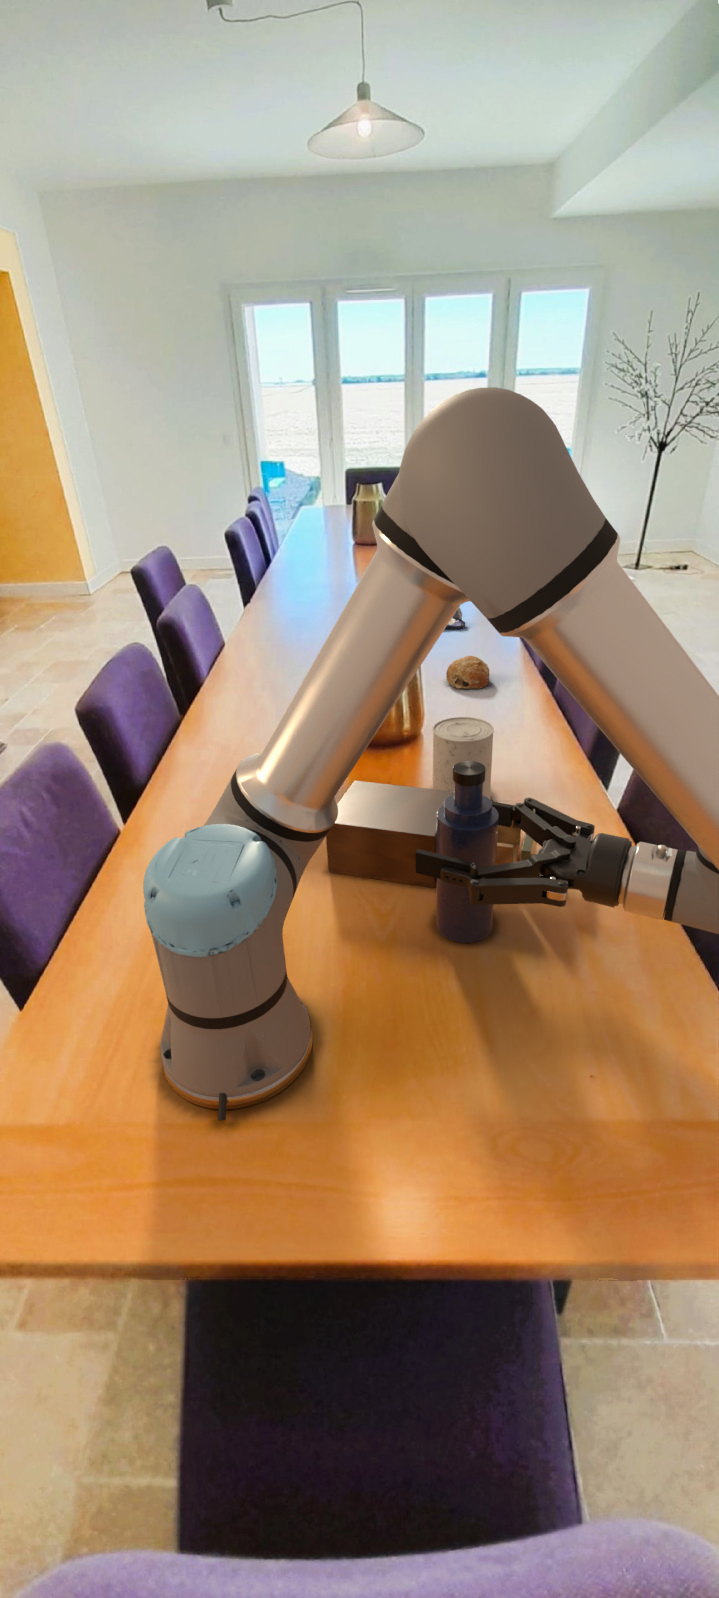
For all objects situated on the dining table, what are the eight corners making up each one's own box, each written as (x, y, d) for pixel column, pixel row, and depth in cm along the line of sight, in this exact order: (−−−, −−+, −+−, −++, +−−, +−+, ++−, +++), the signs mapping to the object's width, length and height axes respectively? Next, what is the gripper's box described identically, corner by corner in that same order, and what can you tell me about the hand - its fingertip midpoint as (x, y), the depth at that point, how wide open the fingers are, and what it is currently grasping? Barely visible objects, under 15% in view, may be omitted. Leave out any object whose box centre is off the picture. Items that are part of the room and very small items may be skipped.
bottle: (487, 947, 86) (496, 785, 75) (430, 937, 88) (430, 778, 78) (496, 912, 92) (505, 757, 81) (442, 903, 94) (444, 751, 83)
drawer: (567, 851, 102) (572, 811, 99) (561, 899, 92) (566, 856, 89) (438, 835, 107) (438, 796, 104) (420, 878, 98) (419, 837, 94)
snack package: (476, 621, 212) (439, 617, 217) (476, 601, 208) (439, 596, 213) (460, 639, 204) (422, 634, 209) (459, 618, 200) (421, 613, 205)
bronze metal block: (453, 839, 107) (454, 791, 103) (434, 888, 97) (434, 836, 93) (356, 827, 112) (354, 780, 108) (328, 872, 101) (324, 822, 97)
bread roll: (443, 700, 167) (441, 675, 161) (451, 669, 173) (449, 643, 166) (486, 703, 164) (485, 677, 158) (493, 671, 170) (492, 645, 164)
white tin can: (423, 804, 117) (422, 735, 111) (445, 779, 124) (446, 713, 118) (479, 816, 113) (481, 745, 107) (498, 790, 120) (502, 721, 114)
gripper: (651, 791, 84) (477, 760, 93) (607, 912, 65) (394, 858, 74) (641, 846, 87) (475, 811, 96) (597, 975, 68) (395, 916, 77)
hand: (439, 831), depth 85 cm, fingers open, 13 cm apart
